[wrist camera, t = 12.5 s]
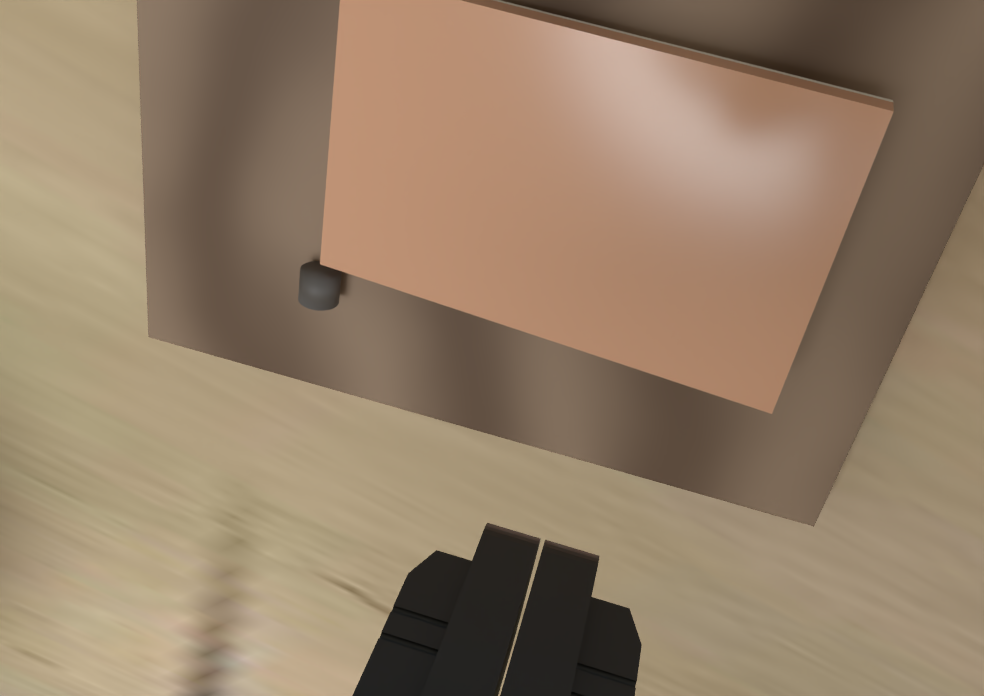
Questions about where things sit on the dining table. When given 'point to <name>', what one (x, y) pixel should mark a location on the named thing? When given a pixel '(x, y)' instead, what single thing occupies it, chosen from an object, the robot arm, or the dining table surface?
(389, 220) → the flip tile
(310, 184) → the board
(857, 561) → the dining table surface
